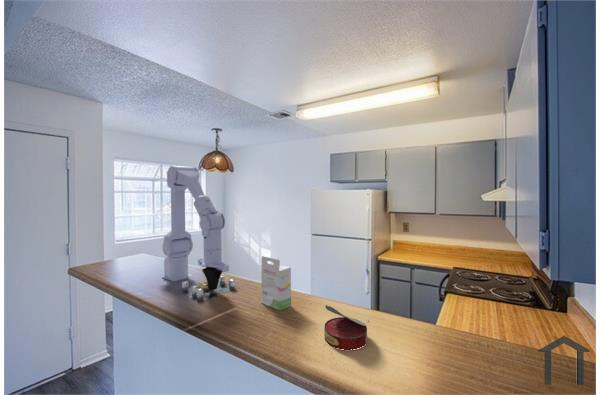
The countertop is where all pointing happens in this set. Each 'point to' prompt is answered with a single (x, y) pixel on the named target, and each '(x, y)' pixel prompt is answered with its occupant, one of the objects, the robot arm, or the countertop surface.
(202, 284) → the brass nut
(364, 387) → the countertop surface
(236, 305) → the countertop surface
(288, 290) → the ink box
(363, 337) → the canned food
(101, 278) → the countertop surface
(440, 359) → the countertop surface
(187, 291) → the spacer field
